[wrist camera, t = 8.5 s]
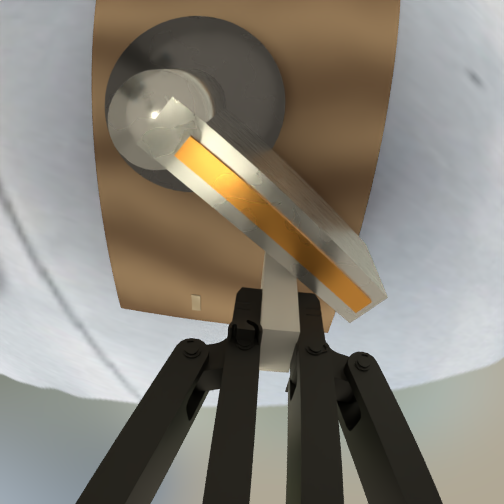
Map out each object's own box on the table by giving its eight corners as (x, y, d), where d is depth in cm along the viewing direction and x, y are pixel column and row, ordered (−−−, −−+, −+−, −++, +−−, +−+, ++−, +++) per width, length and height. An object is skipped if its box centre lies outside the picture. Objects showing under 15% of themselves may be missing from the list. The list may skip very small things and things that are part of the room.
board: (109, -17, 13) (98, -22, 11) (392, -6, 12) (401, -11, 11) (126, 296, 27) (120, 308, 25) (326, 320, 27) (327, 333, 25)
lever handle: (89, 118, 16) (21, 147, 11) (188, -11, 12) (143, -46, 7) (292, 284, 22) (295, 358, 17) (404, 196, 18) (449, 253, 12)
